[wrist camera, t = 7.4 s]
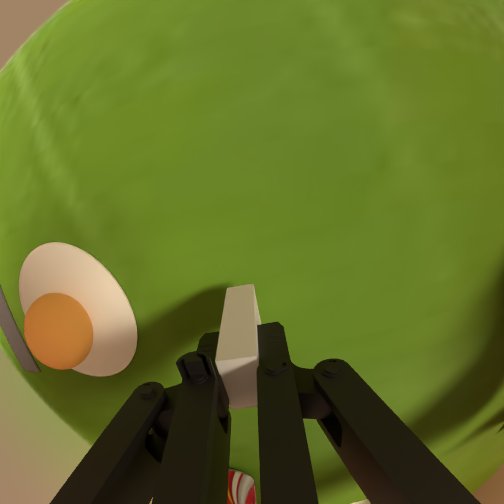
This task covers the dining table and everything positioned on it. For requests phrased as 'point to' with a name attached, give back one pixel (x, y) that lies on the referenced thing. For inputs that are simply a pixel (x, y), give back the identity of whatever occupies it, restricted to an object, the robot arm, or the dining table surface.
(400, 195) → the dining table surface
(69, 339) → the ball
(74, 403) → the dining table surface
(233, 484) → the soda can
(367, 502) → the white brass knuckles
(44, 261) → the disc
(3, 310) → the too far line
